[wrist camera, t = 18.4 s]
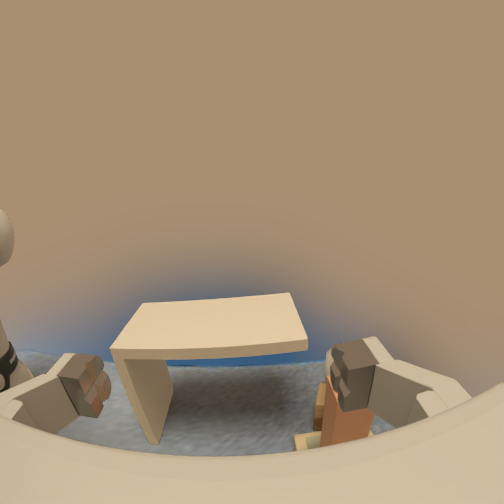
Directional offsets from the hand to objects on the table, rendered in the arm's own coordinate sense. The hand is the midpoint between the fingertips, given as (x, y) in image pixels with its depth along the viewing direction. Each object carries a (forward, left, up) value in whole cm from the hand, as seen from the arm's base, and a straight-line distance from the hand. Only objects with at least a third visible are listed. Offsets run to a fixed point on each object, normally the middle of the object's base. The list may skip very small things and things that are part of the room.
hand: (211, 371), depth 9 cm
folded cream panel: (-21, +17, -30) cm, 40 cm away
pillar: (-1, +18, -28) cm, 33 cm away
